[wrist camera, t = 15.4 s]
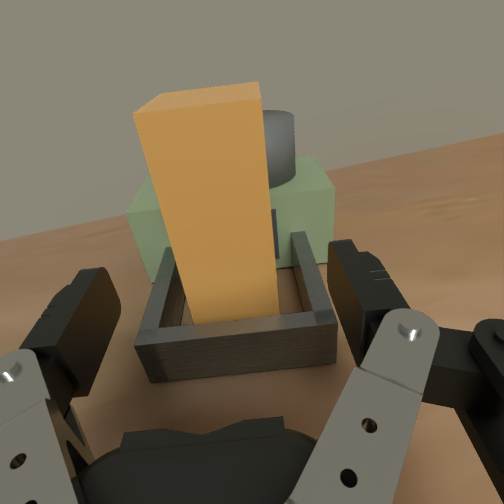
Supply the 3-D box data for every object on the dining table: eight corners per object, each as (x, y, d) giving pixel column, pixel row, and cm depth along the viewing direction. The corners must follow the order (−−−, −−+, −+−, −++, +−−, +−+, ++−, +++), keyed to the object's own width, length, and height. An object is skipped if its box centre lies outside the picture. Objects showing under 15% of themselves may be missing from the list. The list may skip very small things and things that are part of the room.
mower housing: (150, 284, 25) (102, 154, 20) (166, 236, 31) (133, 126, 26) (333, 263, 25) (337, 125, 19) (314, 218, 31) (313, 103, 25)
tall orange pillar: (198, 341, 20) (132, 113, 13) (207, 287, 24) (161, 93, 17) (281, 334, 20) (261, 98, 13) (275, 281, 24) (258, 81, 17)
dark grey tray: (150, 383, 18) (133, 346, 16) (175, 279, 25) (165, 246, 24) (336, 363, 18) (338, 323, 16) (305, 264, 25) (304, 230, 23)
